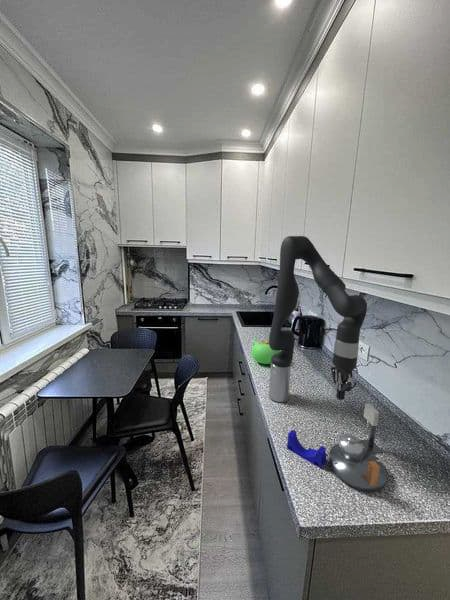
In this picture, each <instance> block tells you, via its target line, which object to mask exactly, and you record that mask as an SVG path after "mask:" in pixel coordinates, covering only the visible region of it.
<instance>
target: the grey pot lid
mask: <svg viewBox="0 0 450 600" xmlns="http://www.w3.org/2000/svg"><path fill="white" fill-rule="evenodd" d="M338 446H339V443H337V444H334V445H332V447H331V448H329V449H330V450H329V454H328V463H329V466H330V468H331V470H332V471H333V472H334V474H335V476H337V477H338V478H339V479H340V480H342V481H343V482H344V483H346V484H347V485H349V486H351V487H352V488H356V489H358V490H361V491H365V492H377V491H380V490H381V489H383V488H384V487H385V485H386V483H387V482H386V481H387V475H388V474H387V469H386V467H385V465H384V463H383V462H382V461H381V460H380V459H379V458H378V457H377V456H376V455H375V453H371V452H370V451H368V450H366V449H365V448H364V447H363V451H362V458H361V459H360V460H358V461H353V460H349V459H347V458H345V457H344V456H342V455H341V454H340V452H339V450H338Z"/></svg>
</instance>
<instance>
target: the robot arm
mask: <svg viewBox="0 0 450 600" xmlns="http://www.w3.org/2000/svg"><path fill="white" fill-rule="evenodd" d="M279 251H280V252H279V253H280V254H279V274H278V281H277V288H276V295H275V301H274V302H275V304H274V311H273V318H272V323H271V326H270V330H269V337H268V341H269V346H270V348H271V349H272V350H280V352H279V353H277V354H274V355H273V356H272V358H271V364H270V372H269V386H268V387H269V389H268V397H269V398H270V399H271V401H274V402H278V403H285V402H287V401H289V394H290V393H289V391H290V384H291V383H290V382H291V370H292V369H291V368H292V361H293V358H294V356H293V355H294V350H295V343H296V342H295V341H296V340H295V339H296V338H295V334H294V332H293V331H292V330H291V329H282V328H283V326H284V323H285V322H286V320H288V318H289V317H290V316H292V314H293V312H294V311H295V309H296V308H297V305H298V300H299V295H300V288H299V285H298V282H297V280H296V277H295V266H296V265H295V264H296V261H297V260H303V262H305V263H306V264H307V265H308V267H309V268H310V270H311V272H312V276H313V279H314V281H315V283H316V285H317V286H318V287H319V288H320V289H321V290H322V291H323V293H324V294H325V295H326V297H327V298H328V300H329V303H330V304H331V306H332V308H333V309H334V311H335V312H336V313H337V314H338V315H339V316H341V317H342V318H343V320H342V321H341V322H339V323H338V325H337V327H336V328H337V329H336V333H335V342H334V344H333V345H334V346H333V354H332V355H333V356H332V364H333V366H330V371H331V375H332V380H333V384H335V387H336V395H335V397H336V399H337V400H339V401H340V400H341V401H342V400H345V396H346V392H351V391H352V390H353V389H354V388H355V387H357V382H356V381H354V380H353V378H354V377H353V376H354V374H353V371H354V370H356V369H357V363H358V359H359V358H358V356H359V349H360V347H359V342H360V335H361V334H360V333H361V332H360V331H361V328H362V326H363V324H364V321H365V318H366V316H367V312H368V311H367V310H368V304H367V301H366V299H365V298H364V297H363V296H361V295H359V294H358V295H357V294H352V295H349V294H348V293H347V291H346V288H347V287H346V284H345V282H344V281H343V280H342V279H341V278H340V277H339V276H338V275H337V274H336V273H335V272H334V271H333V270H332V269H331V268H330V266H329V265H328V264H327V263H326V262H325V260H324V258H323V257H322V255H320V252H318V250H317V248H316V247H315V246H314V244H313V243H312V241H311V240H310V239H309V238H308V237H307V236H305V235H289V236H286V237H284V239H282V242H281V244H280V250H279Z"/></svg>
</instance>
